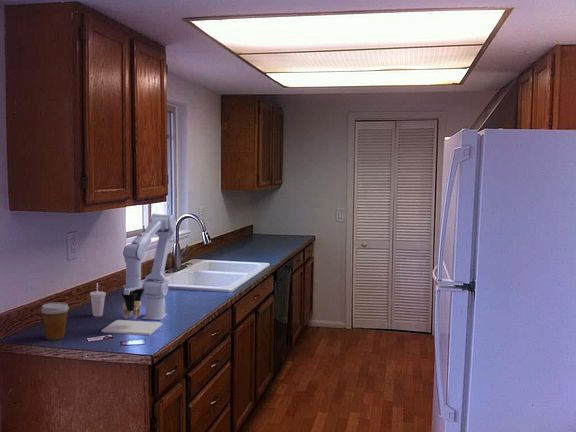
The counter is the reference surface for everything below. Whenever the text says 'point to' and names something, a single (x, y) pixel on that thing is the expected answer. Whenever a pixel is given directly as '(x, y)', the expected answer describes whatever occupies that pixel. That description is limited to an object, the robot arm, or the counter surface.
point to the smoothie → (97, 302)
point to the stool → (135, 311)
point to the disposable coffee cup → (54, 320)
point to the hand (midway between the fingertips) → (133, 308)
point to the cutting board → (132, 327)
